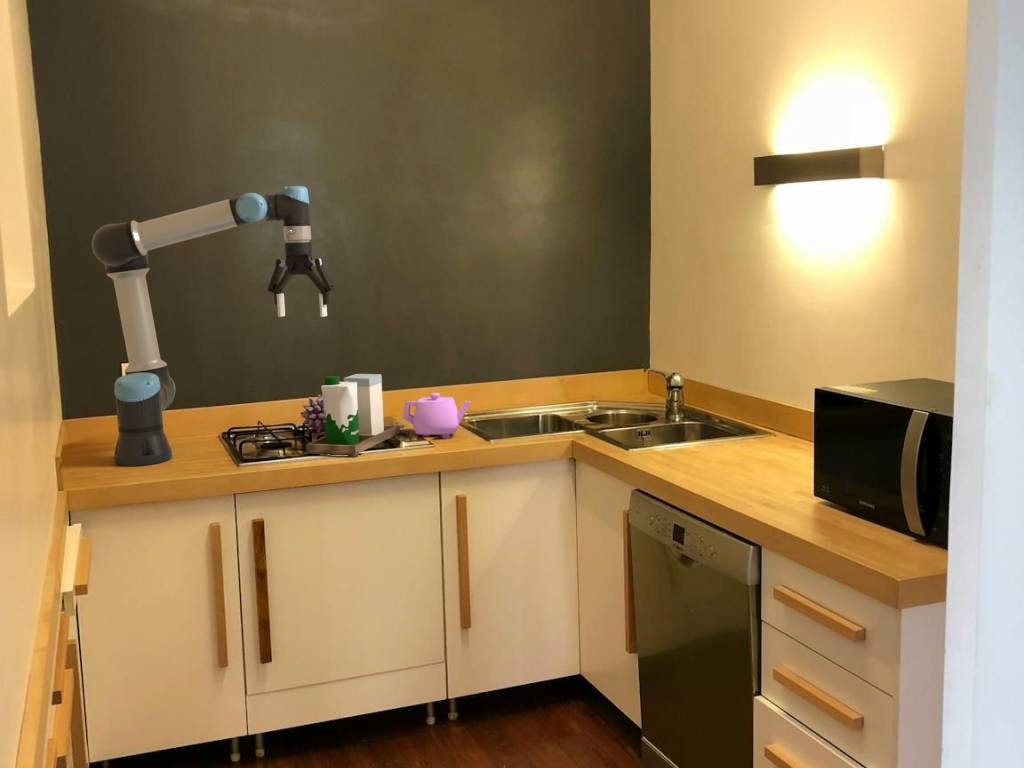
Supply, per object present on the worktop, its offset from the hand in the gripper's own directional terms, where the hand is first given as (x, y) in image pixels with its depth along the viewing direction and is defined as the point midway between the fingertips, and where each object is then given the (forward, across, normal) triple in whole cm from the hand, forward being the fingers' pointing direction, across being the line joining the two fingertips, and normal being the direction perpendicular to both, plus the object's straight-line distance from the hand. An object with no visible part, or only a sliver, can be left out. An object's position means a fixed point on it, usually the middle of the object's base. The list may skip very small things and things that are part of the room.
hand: (302, 316), depth 303 cm
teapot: (+37, +34, +15) cm, 52 cm away
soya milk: (+36, +15, -8) cm, 40 cm away
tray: (+37, +15, -1) cm, 40 cm away
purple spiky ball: (+37, -3, +12) cm, 39 cm away
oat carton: (+36, +15, +6) cm, 39 cm away
